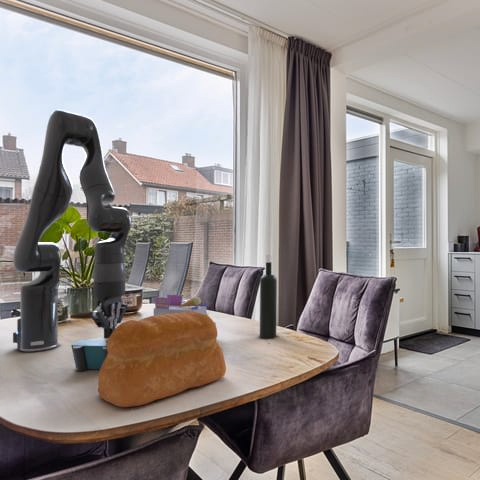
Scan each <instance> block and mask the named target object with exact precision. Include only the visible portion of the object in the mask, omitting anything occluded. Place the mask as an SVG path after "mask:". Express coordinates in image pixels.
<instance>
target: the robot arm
mask: <svg viewBox="0 0 480 480" xmlns="http://www.w3.org/2000/svg"><path fill="white" fill-rule="evenodd" d="M101 144H102V143H101V138H100V134H99V130H98V127H97V125H96V123H95V121H94V120H93V119H92V118H91V117H88V116H86V115H82V114H79V113H74V112H70V111H66V110H64V109H56V110H54V111H52V113H51V114H50V116H49V118H48V121H47V125H46V131H45V137H44V144H43V150H42V156H41V161H40V166H39V169H38V173H37V176H36V180H35V183H34V186H33V190H32V194H31V198H30V203H29V206H28V211H27V215H26V218H25V222H24V224H23V227H22V230H21V232H20V235H19V237H18V240H17V242H16V245H15V248H14V251H13V257H12V264H13V267H14V269H15V270H16V271H17V272H19V273H39V275H38V276H37V277H36V278H34V279H33V280H31V281H28V282H27V283H24V284H22V285H21V286H20V318H18V319H17V320H16V323H17V324H16V325H17V326H16V331H15V332H12V343H13V344H16V350H17V351H20V352H25V353H29V352H41V351H48V350H52V349H55V348H57V347H58V346H59V341H58V340H59V335H58V334H59V320H58V319H59V302H58V301H59V294H58V293H59V286H60V281H61V265H62V254H61V248H60V247H59V245H58V244H57V243H55V242H51V241H49V242H47V241H46V242H44V241H43V242H41V239H42V237H43V235H44V234H45V232H46V231H47V230H48V229H49V228H50V227H51V226H52V225H54V223H56V222H57V221H58V220H59V219H60V218H62V216H63V215H64V214H65V213H66V212H67V210H68V209H69V206H70V202H71V199H72V196H73V190H74V187H73V183H72V180H71V178H70V175H69V173H68V171H67V169H66V167H65V164H64V160H63V159H64V158H63V157H64V156H63V155H64V149H65V145H68V146H73V147H80V148H82V150H83V152H84V154H85V159H84V161H83V163H82V165H81V167H80V170H79V176H78V179H79V183H80V186H81V189H82V191H83V195H84V197H85V205H86V214H85V215H86V217H85V218H86V224H87V226H88V227H89V229H91V230H92V231H94V232H96V233H111V234H110V236H109V237H108V239H105V240H101V241H98V242H96V243H95V244H94V264H93V265H94V266H93V296H94V297H95V298H96V299H97V301H96V306H95V307H96V308H95V309H94V311H93V310H92V311H90V312H89V316H90V317H91V319H92V321H93V322H94V323H95V326H96V327H97V328H102V329H103V338H109V337H110V336H111V334H112V333H113V332H114V330H115V329H116V327H117V326H118V325H119V324H122V322H123V318H124V316H125V314H126V312H127V309H128V307H129V306H128V303H123V298H122V297H123V296H125V295H126V265H125V247H126V243H127V240H128V237H129V234H130V230H131V228H132V222H133V221H132V219H133V218H132V215H131V213H130V211H129V210H128V209H127V208H125V207H122V206H121V207H119V206H107V205H109V204H111V203H113V202H114V201H115V198H116V194H115V191H114V188H113V186H112V183H111V181H110V179H109V175H108V173H107V170H106V166H105V161H104V156H103V149H102V145H101Z"/></svg>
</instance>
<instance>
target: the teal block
mask: <svg viewBox="0 0 480 480" xmlns="http://www.w3.org/2000/svg"><path fill="white" fill-rule="evenodd" d="M107 342H108V338H104V337H94V338H93V339H78V340H77V341H75V342H74V343H72V344H71V345H70V347H71V350H72V356H73V360H74V365H75V368H76V370H77V372H84V371H86V370H100V369H101V367H102V364H103V362H104V361H105V359H106V357H107V355H108V351H107Z"/></svg>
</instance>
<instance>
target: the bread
mask: <svg viewBox="0 0 480 480" xmlns="http://www.w3.org/2000/svg"><path fill="white" fill-rule="evenodd" d="M214 322H215V321H214V320H213V319H212V318H211V317H210V316H209V315H208V314H207V315H205V314H202V313H198V312H193V311H185V312H182V313H173V314H162V315H157V316H154V315H150V316H146V317H144V318H141V319H139V320H136V319H135V320H134V319H129V320H126V321H122V322H121V323H119V324H118V325H117V326H116V327H115V330H114V332H113V333H112V334H111V336H110V337H109V338H108V342H107V351H108V355H107V357H106V359H105V361H104V362H103V364H102V367H101V369H99V373H98V377H97V378H98V379H97V380H98V381H97V382H98V387H97V392H98V395H99V397H100V398H101V399H103V401H105V402H107V403H110V404H112V405H114V406H116V407H119V408H131V407H137V406H138V407H139V406H143V405H146V404H149V403H152V402H154V401H156V400H161V399H164V398H166V397H172V396H175V395H178V394H180V393H182V392H184V391H186V390H188V389H194V388H198V387H202V386H204V385H208V384H211V383H213V382H215V381H218V380H220V379H222V378H223V377H224V376H225V375H226V372H227V365H226V360H225V355H224V352H223V349H222V347H221V346H220V344H219V342H218V340H217V337H218V328H217V324H216V325H215V323H216V322H215V323H214Z"/></svg>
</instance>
